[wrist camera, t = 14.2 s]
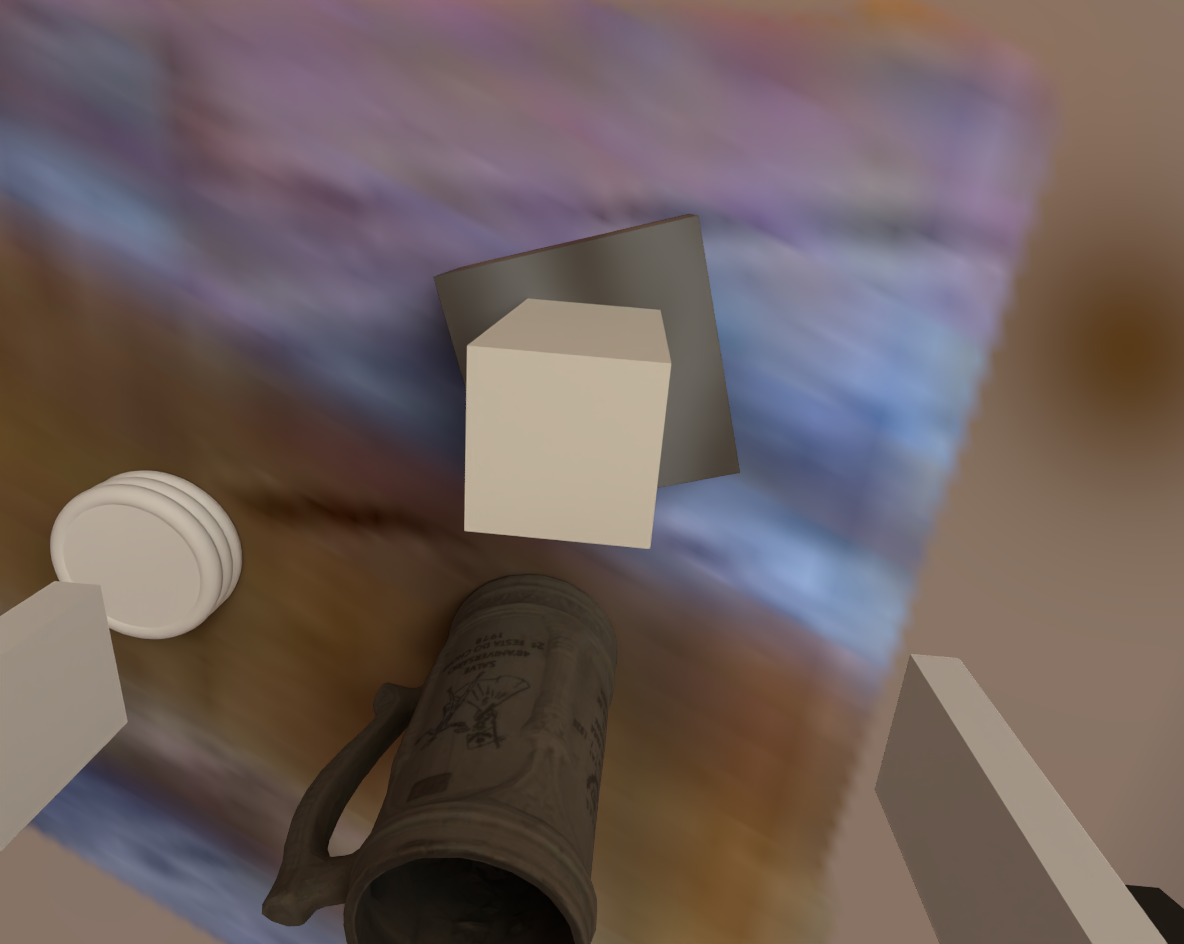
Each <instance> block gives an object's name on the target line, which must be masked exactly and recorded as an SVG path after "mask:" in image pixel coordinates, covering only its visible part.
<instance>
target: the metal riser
mask: <svg viewBox="0 0 1184 944" xmlns="http://www.w3.org/2000/svg"><path fill="white" fill-rule="evenodd" d="M434 281H435V284H436V287H437V291H438V294H439V298H440V301H441V305H442V308H443V312H444V315H445V319H446V322H447V326H448V329H449V333H450V336H451V339H452V343H453V346H454V350H455V353H456V357H457V360H458V364H459V367H460V371H461V374H462V378H463V381H464V385H465V388H466V381H467V345H468V344H470V343H471V342H472V341H474V340H475V339H476V338H477V337H479V336H480V335H481V334H483V333H484V332H485V331H486V330H488V329H489V328H490V327H492V326H493V325H494V324H496V323H497V322H498V321H499V320H501V319H502V318H503V317H505V316H506V315H507V314H508V313H510V312H511V311H512V310H514V309H515V308H516V307H517V306H519V305H520V304H521V303H523V302H524V301H525V300H526V299H540V300H551V301H563V302H575V303H586V304H598V305H610V306H621V307H633V308H645V309H657V310H661V315H662V320H663V324H664V329H665V334H666V339H667V344H668V349H669V354H670V359H671V371H670V380H669V389H668V397H667V406H666V415H665V423H664V432H663V441H662V449H661V458H660V466H659V475H658V484H657V488H659V487H665V486H670V485H676V484H681V483H687V482H692V481H697V480H703V479H708V478H714V477H719V476H725V475H730V474H736V473H740V469H739V463H738V457H737V450H736V444H735V438H734V432H733V426H732V420H731V413H730V407H729V401H728V395H727V389H726V382H725V376H724V370H723V364H722V358H721V352H720V345H719V339H718V333H717V327H716V321H715V314H714V308H713V302H712V296H711V290H710V284H709V277H708V271H707V265H706V259H705V253H704V246H703V240H702V234H701V228H700V222H699V216H698V215H693V214H686V215H682V216H678V217H674V218H669V219H665V220H661V221H656V222H652V223H648V224H643V225H639V226H635V227H631V228H626V229H622V230H618V231H613V232H609V233H605V234H601V235H596V236H592V237H588V238H583V239H579V240H575V241H570V242H566V243H562V244H558V245H553V246H549V247H545V248H540V249H536V250H532V251H528V252H523V253H519V254H515V255H510V256H506V257H502V258H497V259H493V260H489V261H485V262H480V263H476V264H472V265H467V266H463V267H460V268H457V269H454V270H451V271H449V272H446V273H443V274H440V275H437V276H435V277H434Z"/></svg>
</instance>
